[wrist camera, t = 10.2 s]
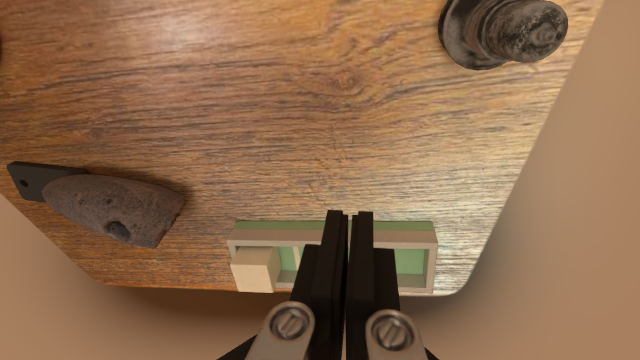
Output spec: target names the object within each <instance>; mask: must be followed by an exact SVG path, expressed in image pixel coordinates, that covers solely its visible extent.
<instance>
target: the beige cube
mask: <svg viewBox="0 0 640 360" xmlns="http://www.w3.org/2000/svg"><path fill="white" fill-rule="evenodd" d="M230 266H231V269H232V272H233V275H234V278H235V282H236V285H237V288H238V291H244V292H267V293H273V291H274V288H275V285H276V282H277V279H278V276H279V273H280V270H281V267H282V265H281V260H280V255H279V250H278V246H240V247H239V249H238V251H237V253H236V255H235V256H234V258H233V260H232V262H231V264H230Z"/></svg>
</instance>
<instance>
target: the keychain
mask: <svg viewBox="0 0 640 360" xmlns="http://www.w3.org/2000/svg"><path fill="white" fill-rule="evenodd" d="M7 169H8V171H9V173H10V175H11V177H12V179H13V181H14V183H15V185H16V187H17V189H18V191H19V193H20V195H21V196H22V198H23V199H25V200H29V201H37V202H46V201H45V199H44V197H43V196H42V190H43V189H44V187H45V186H46V185H47V184H49V183H50V182H52V181H54V180H56V179H58V178H61V177H65V176H71V175H82V174H89V172H88V171H87V170H85V169H78V168H68V167H59V166H50V165H40V164H31V163H21V162H13V163H10V164H8V165H7ZM46 203H47V202H46Z"/></svg>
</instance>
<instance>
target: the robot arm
mask: <svg viewBox="0 0 640 360" xmlns="http://www.w3.org/2000/svg"><path fill="white" fill-rule="evenodd" d="M345 309H346V360H439V359H438V358H436V357H435V356H434V355H433V354H432V353H431V352H430V351H429V350H427V349H426V348H425V347H424V345H423V342H422V339H421V336H420V333H419V330H418V328H417V326H416V324H415V323H414V321H413V320H412V319H411V318H410V317H409V316H407V315H406V314H404V313H403V312H400V303H399V293H398V282H397V272H396V261H395V251H394V249H389V248H374V239H373V212H366V211H359V212H358V215H353V216H352V227H351V239H350V250H349V262H348V215H344V214H343V211H341V210H328V212H327V216H326V221H325V226H324V231H323V235H322V240H321V245H318V244H305V246H304V249H303V253H302V257H301V260H300V264H299V268H298V271H297V275H296V279H295V282H294V286H293V290H292V293H291V297H290V301H289V302H283V303H281V304H279V305H277V306H276V307H274V308H273V309H272V310H271V311H270V312H269V314H268V315H267V316H266V319H265V320H264V322H263V324H262V326H261V328H260V331H259V332H258V334H257V335H255V336H253V337H252V338H250V339H249V340H247V341H246V342H244V343H243V344H241V345H239V346H238V347H236V348H235V349H233V350H231V351H230V352H228V353H227V354H225V355H224V356H222V357H220V358H219V359H217V360H341V357H342V345H343V333H344V321H345Z"/></svg>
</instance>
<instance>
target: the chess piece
mask: <svg viewBox="0 0 640 360" xmlns="http://www.w3.org/2000/svg"><path fill="white" fill-rule="evenodd" d="M567 29H568V18H567V16H566V13H565V11H564V10H563V9H562V8H561V7H560V6H559V5H557V4H555V3H553V2H550V1H544V0H448V1H447V3H446V5H445V7H444V8H443V10H442V12H441V15H440V19H439V25H438V33H439V38H440V41H441V43H442V45H443V47H444V48H445V49H446V50H447V52H448V54H449V55H450V57H451V58H452V59H453V60H454V61H455V62H456V63H457V64H459V65H461V66H463V67H465V68H467V69H472V70H489V69H492V68H495V67H498V66H501V65H503V64H504V63H506V62H509V61H513V60H514V61H516V62H522V63H527V62H535V61H538V60H541V59H543V58H545V57H547V56H549V55H550V54H552V53H553V52H554V51H555V50H556V49H557V48H558V47H559V46H560V44H561V43H562V42H563V40H564V38H565V36H566V33H567Z"/></svg>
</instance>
